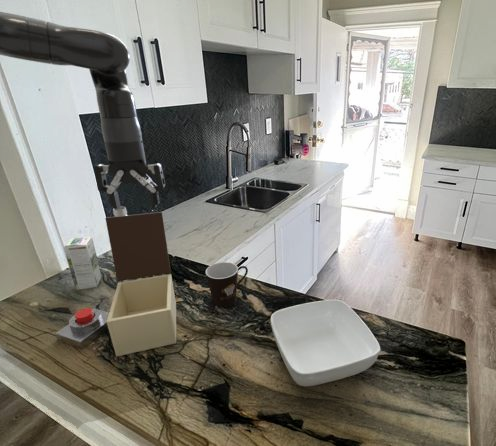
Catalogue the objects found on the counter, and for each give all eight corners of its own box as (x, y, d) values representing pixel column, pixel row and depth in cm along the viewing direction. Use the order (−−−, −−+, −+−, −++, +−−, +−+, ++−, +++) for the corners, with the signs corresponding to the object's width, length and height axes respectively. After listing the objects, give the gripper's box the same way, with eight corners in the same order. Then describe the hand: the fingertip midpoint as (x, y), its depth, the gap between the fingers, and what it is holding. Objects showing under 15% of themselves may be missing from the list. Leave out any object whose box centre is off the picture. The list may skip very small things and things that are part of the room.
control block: (82, 349, 72) (77, 335, 70) (57, 340, 74) (52, 327, 73) (118, 321, 81) (115, 308, 79) (95, 314, 83) (91, 302, 81)
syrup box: (81, 280, 97) (69, 238, 92) (103, 277, 99) (92, 235, 93) (75, 290, 92) (62, 246, 87) (98, 287, 94) (86, 244, 88)
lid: (161, 212, 79) (161, 211, 80) (105, 218, 75) (105, 217, 76) (170, 272, 83) (170, 271, 84) (117, 281, 79) (118, 280, 80)
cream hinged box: (176, 343, 74) (170, 309, 70) (116, 356, 70) (106, 321, 66) (176, 303, 87) (171, 273, 84) (125, 313, 83) (118, 282, 80)
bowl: (340, 317, 83) (342, 293, 80) (385, 379, 66) (390, 351, 63) (265, 335, 77) (264, 310, 74) (293, 409, 59) (293, 380, 56)
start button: (84, 325, 74) (82, 319, 73) (73, 321, 75) (71, 316, 74) (97, 316, 77) (96, 310, 76) (86, 312, 78) (85, 306, 77)
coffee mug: (209, 312, 84) (205, 280, 80) (208, 293, 92) (205, 264, 88) (252, 305, 87) (250, 274, 83) (248, 288, 95) (246, 259, 91)
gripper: (80, 141, 65) (98, 213, 71) (153, 140, 67) (164, 211, 74) (95, 136, 72) (110, 203, 78) (161, 136, 74) (170, 201, 80)
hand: (136, 207), depth 76 cm, fingers open, 8 cm apart
